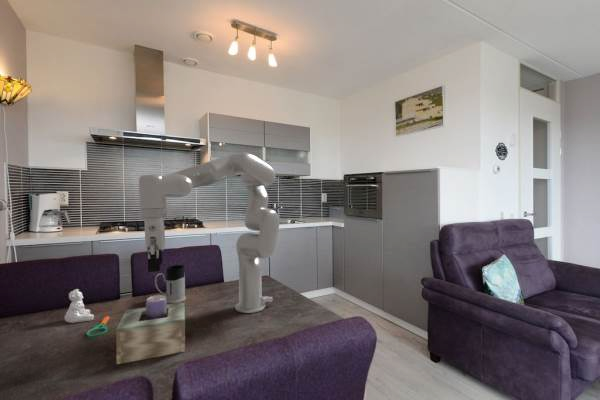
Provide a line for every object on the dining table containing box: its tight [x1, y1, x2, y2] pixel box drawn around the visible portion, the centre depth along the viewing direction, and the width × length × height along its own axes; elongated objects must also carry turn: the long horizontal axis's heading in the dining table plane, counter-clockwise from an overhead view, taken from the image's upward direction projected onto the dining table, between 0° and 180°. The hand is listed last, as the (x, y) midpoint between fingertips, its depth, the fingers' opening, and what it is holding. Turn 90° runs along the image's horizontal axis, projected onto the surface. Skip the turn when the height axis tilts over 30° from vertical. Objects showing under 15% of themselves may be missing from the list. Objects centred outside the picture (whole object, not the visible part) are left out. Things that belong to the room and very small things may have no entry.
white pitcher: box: [154, 264, 187, 304], centre depth 131 cm, size 9×14×15 cm, turn 148°
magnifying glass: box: [86, 315, 110, 339], centre depth 105 cm, size 15×6×2 cm, turn 20°
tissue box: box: [115, 301, 186, 365], centre depth 92 cm, size 18×15×10 cm
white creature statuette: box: [63, 288, 95, 324], centre depth 112 cm, size 10×9×12 cm
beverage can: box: [145, 294, 168, 320], centre depth 93 cm, size 6×6×15 cm
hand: (155, 267), depth 92 cm, fingers open, 9 cm apart
